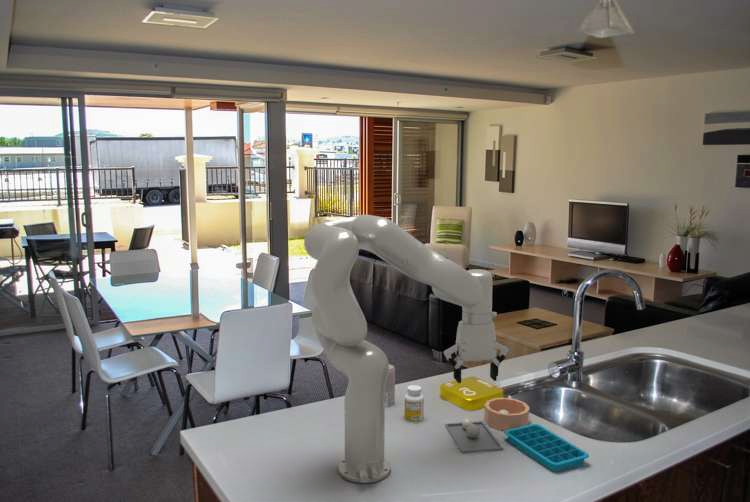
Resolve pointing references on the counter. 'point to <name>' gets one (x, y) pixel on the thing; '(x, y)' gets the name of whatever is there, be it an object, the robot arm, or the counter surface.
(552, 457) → the ice cube tray
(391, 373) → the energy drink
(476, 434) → the pebble
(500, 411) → the pebble
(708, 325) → the counter surface
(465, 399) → the element tile
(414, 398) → the supplement bottle
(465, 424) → the pebble
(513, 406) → the bowl
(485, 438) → the parts tray
